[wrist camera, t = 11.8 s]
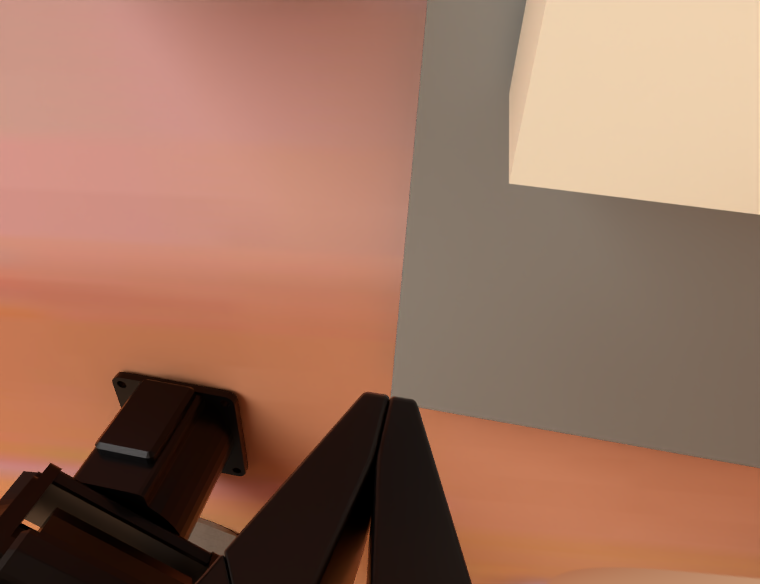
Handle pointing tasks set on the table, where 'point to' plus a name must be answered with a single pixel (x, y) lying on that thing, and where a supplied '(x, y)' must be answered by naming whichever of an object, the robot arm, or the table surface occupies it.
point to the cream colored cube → (639, 100)
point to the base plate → (564, 279)
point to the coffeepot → (211, 536)
